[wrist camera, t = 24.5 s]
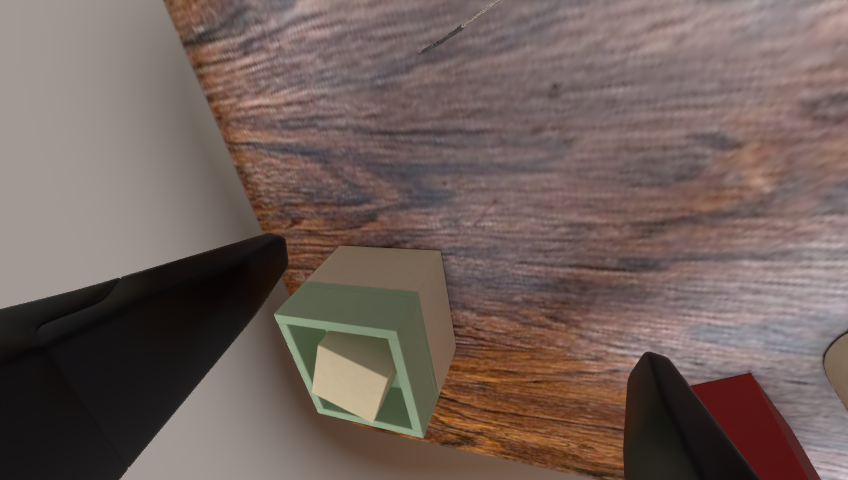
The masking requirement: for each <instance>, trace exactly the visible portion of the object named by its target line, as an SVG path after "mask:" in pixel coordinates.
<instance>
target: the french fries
mask: <svg viewBox="0 0 848 480" xmlns="http://www.w3.org/2000/svg"><path fill="white" fill-rule="evenodd" d="M690 387H691V388H692V390H693V391H694V392H695V394H696V395H697V396H698V398H699V399H700V400H701V401H702V403H703V404H704V405H705V407H706V408H707V409H708V411H709V412H710V413H711V415H712V416H713V417H714V419H715V420H716V421H717V422H718V424H719V425H720V426H721V428H722V429H723V430H724V432H725V433H726V434H727V436H728V437H729V438H730V440H731V441H732V442H733V443H734V445H735V446H736V447H737V449H738V450H739V451H740V453H741V454H742V455H743V457H744V458H745V459H746V461H747V462H748V463H749V465H750V466H751V467H752V468H753V470H754V471H755V472H756V474H757V475H758V476H759V478H760V479H761V480H821V479H820V477H819V475H818V474H817V472H816V470H815V469H814V467H813V465H812V464H811V462H810V460H809V458H808V457H807V455H806V453H805V452H804V450H803V448H802V446H801V445H800V443H799V441H798V440H797V438H796V436H795V434H794V433H793V431H792V429H791V428H790V427H789V425H788V424H787V423H786V421H785V420H784V418H783V417H782V416H781V414H780V413H779V412H778V410H777V409H776V407H775V406H774V405H773V403H772V402H771V401H770V399H769V398H768V396H767V395H766V394H765V392H764V391H763V389H762V388H761V387H760V385H759V384H758V383H757V381H756V380H755V378H754V377H753V376H752V374H751V373H750V374H746V375H741V376H736V377H732V378H727V379H722V380H718V381H713V382H708V383H704V384H699V385H695V386H690Z"/></svg>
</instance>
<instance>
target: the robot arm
mask: <svg viewBox="0 0 848 480" xmlns="http://www.w3.org/2000/svg"><path fill="white" fill-rule="evenodd" d="M287 266H288V253H287V245H286V240H285V238H284V237H282V236H280V235H277V234H273V233H267V234H263V235H260V236H257V237H253V238H250V239H247V240H243V241H240V242H237V243H233V244H230V245H227V246H224V247H220V248H216V249H213V250H210V251H206V252H203V253H200V254H197V255H193V256H190V257H186V258H183V259H180V260H177V261H173V262H170V263H166V264H163V265H160V266H156V267H153V268H150V269H146V270H143V271H139V272H136V273H133V274H129V275H126V276H123V277H122V278H121V279H120V278H116V279H113V280H110V281H106V282H103V283H100V284H96V285H92V286H89V287H85V288H82V289H78V290H75V291H71V292H67V293H63V294H59V295H55V296H51V297H47V298H43V299H39V300H35V301H31V302H27V303H23V304H19V305H15V306H11V307H7V308H3V309H0V480H119V479H120V478H121V477H122V476H123V475H124V473H125V472H126V471H127V469H128V468H127V467H130V466H131V465H132V463H133V462H134V461H135V460H136V459H137V457H138V456H139V455H140V454H141V452H142V451H143V450H144V449H145V448H146V447H147V445H148V444H149V443H150V442H151V441H152V439H153V438H154V437H155V436H156V435H157V433H158V432H159V431H160V430H161V428H162V427H163V426H164V425H165V424H166V422H167V421H168V420H169V419H170V418H171V416H172V415H173V414H174V413H175V412H176V410H177V409H178V408H179V407H180V406H181V404H182V403H183V402H184V401H185V400H186V398H187V397H188V396H189V395H190V394H191V392H192V391H193V390H194V389H195V387H196V386H197V385H198V384H199V383H200V381H201V380H202V379H203V378H204V377H205V375H206V374H207V373H208V372H209V371H210V369H211V368H212V367H213V366H214V365H215V363H216V362H217V361H218V360H219V359H220V357H221V356H222V355H223V354H224V352H225V351H226V350H227V349H228V348H229V346H230V345H231V344H232V343H233V342H234V340H235V339H236V338H237V337H238V335H239V334H240V333H241V332H242V331H243V330H244V328H245V327H246V326H247V324H248V323H249V322H250V321H251V320H252V319H253V317H254V316H255V315H256V314H257V312H258V311H259V309H260V308H261V307H262V305H263V303H264V302H265V300H266V299H267V298H268V296H269V294H270V293H271V292H272V290H273V289H274V287H275V286H276V284H277V283H278V281H279V279H280V278H281V277H282V275H283V274H284V272H285V270H286V269H287ZM623 457H624V476H625V480H761V479H760V478H759V476H758V475H757V474H756V472H755V471H754V470H753V468H752V467H751V466H750V465H749V463H748V462H747V461H746V459H745V458H744V457H743V455H742V454H741V453H740V451H739V450H738V449H737V447H736V446H735V445H734V443H733V442H732V441H731V440H730V438H729V437H728V436H727V434H726V433H725V432H724V430H723V429H722V428H721V426H720V425H719V424H718V422H717V421H716V420H715V419H714V417H713V416H712V415H711V413H710V412H709V411H708V409H707V408H706V407H705V405H704V404H703V403H702V401H701V400H700V399H699V398H698V396H697V395H696V394H695V392H694V391H693V390H692V388H691V387H690V386H689V384H688V383H687V382H686V380H685V379H684V378H683V376H682V375H681V374H680V373H679V371H678V370H677V369H676V367H675V366H674V365H673V363H672V362H671V361H670V360H669V359H668V358H667V357H665V356H662V355H659V354H656V353H653V352H645V353H644V354H643V355H642V357H641V358H640V360H639V361H638V363H637V364H636V366H635V367H634V369H633V370H632V372H631V373H630V376H629V378H628V383H627V396H626V412H625V427H624V444H623Z"/></svg>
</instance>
